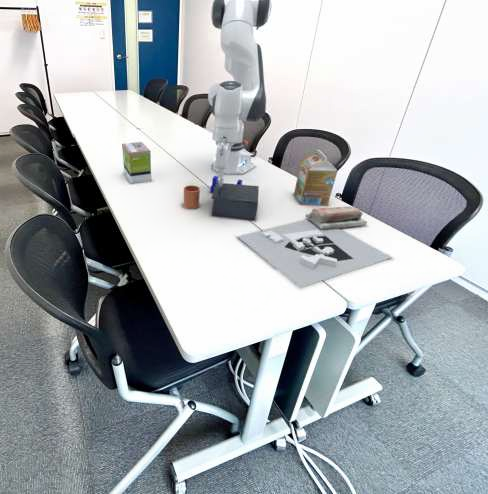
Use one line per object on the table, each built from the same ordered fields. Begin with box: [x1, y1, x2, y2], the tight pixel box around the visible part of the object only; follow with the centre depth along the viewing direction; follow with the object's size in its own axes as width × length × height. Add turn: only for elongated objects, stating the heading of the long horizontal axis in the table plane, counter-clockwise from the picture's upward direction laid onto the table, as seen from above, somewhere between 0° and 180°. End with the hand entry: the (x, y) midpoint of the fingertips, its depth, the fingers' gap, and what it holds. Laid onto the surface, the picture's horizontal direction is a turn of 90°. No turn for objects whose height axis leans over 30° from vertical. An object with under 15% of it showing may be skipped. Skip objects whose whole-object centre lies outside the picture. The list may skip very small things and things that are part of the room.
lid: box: [210, 177, 260, 204], centre depth 124 cm, size 16×15×5 cm
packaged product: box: [304, 206, 368, 229], centre depth 118 cm, size 18×5×10 cm
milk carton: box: [293, 149, 338, 206], centre depth 132 cm, size 11×11×19 cm
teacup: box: [182, 185, 201, 210], centre depth 131 cm, size 6×6×7 cm
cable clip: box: [210, 175, 243, 194], centre depth 141 cm, size 12×4×6 cm, turn 65°
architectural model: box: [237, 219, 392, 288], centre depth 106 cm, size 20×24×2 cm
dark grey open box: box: [211, 199, 259, 222], centre depth 127 cm, size 16×15×7 cm
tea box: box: [121, 141, 152, 185], centre depth 155 cm, size 15×10×15 cm, turn 18°
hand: (221, 173), depth 123 cm, fingers open, 8 cm apart
